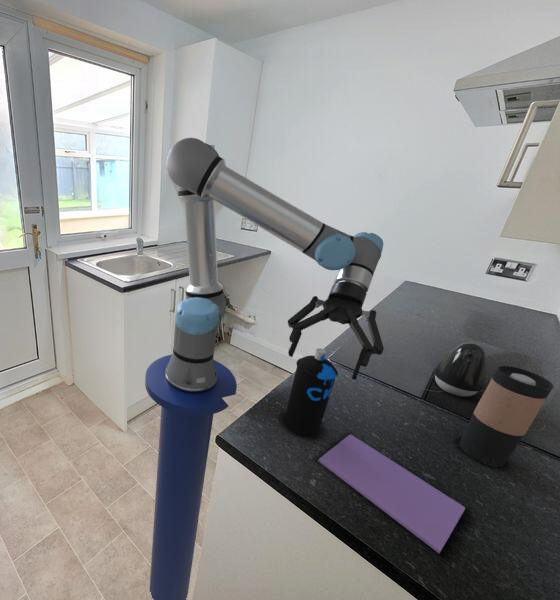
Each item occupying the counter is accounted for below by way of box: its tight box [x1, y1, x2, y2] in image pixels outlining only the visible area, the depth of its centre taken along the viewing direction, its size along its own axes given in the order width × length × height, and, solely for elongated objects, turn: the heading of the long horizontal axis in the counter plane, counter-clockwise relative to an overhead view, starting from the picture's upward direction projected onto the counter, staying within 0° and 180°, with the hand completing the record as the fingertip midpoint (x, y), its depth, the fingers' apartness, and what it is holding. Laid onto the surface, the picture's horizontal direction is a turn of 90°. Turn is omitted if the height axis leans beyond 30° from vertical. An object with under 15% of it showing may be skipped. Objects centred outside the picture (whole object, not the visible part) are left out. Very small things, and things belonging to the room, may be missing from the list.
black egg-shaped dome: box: [433, 342, 488, 398], centre depth 86 cm, size 10×10×15 cm
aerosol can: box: [282, 347, 339, 438], centre depth 70 cm, size 8×8×20 cm
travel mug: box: [459, 365, 554, 468], centre depth 64 cm, size 8×8×20 cm
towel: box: [318, 434, 466, 554], centre depth 59 cm, size 20×13×1 cm, turn 34°
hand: (320, 365), depth 71 cm, fingers open, 13 cm apart
